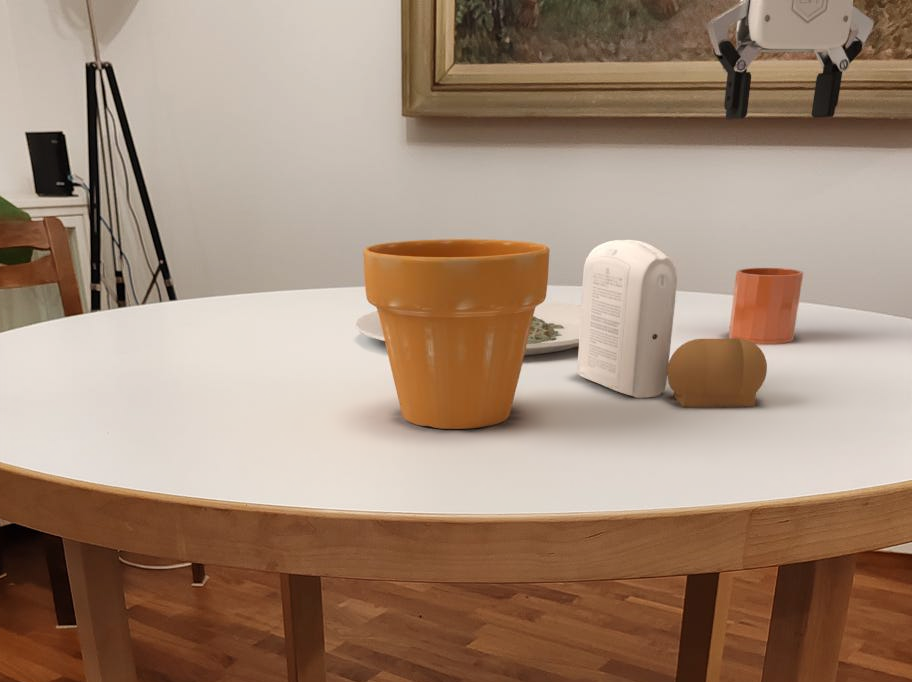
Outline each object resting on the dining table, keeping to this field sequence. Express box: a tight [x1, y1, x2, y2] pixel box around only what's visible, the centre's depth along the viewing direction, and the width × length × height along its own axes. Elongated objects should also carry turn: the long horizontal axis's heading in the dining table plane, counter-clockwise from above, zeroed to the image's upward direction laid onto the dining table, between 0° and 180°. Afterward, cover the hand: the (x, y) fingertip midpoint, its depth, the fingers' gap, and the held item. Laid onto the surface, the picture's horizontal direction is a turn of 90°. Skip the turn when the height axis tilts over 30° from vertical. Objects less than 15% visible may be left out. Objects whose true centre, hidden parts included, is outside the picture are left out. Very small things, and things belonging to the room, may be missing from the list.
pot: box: [728, 267, 804, 345], centre depth 107 cm, size 7×7×7 cm
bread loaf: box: [667, 337, 768, 408], centre depth 83 cm, size 8×5×5 cm, turn 89°
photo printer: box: [577, 239, 678, 399], centre depth 87 cm, size 10×4×12 cm, turn 23°
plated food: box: [355, 300, 581, 356], centre depth 111 cm, size 30×30×3 cm
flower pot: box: [362, 238, 551, 430], centre depth 78 cm, size 14×14×13 cm
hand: (779, 117), depth 100 cm, fingers open, 9 cm apart
